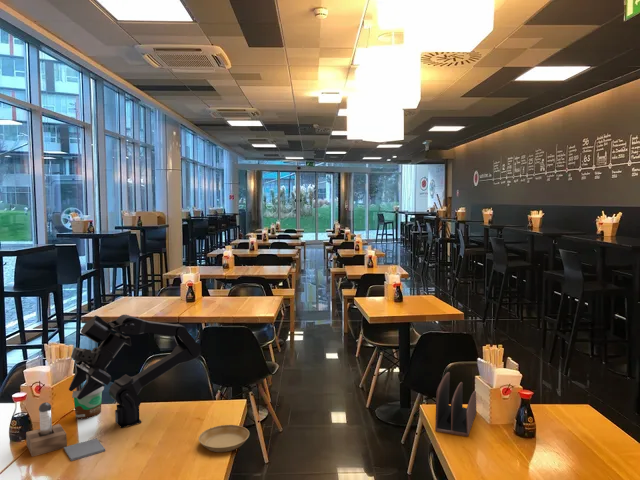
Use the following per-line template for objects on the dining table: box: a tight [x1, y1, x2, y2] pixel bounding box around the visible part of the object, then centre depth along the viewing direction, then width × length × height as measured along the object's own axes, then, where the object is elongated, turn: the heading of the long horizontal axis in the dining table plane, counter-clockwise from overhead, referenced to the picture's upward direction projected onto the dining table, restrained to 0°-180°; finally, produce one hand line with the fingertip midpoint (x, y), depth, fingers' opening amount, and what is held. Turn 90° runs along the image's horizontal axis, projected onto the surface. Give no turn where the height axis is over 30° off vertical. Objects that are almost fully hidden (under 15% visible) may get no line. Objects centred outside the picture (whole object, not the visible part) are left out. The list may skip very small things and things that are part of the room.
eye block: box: [25, 423, 68, 458], centre depth 146 cm, size 9×9×4 cm
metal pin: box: [38, 401, 53, 437], centre depth 146 cm, size 3×3×13 cm
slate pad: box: [63, 438, 106, 462], centre depth 143 cm, size 9×9×1 cm
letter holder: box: [434, 371, 478, 438], centre depth 159 cm, size 10×20×14 cm, turn 155°
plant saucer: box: [198, 424, 250, 453], centre depth 146 cm, size 15×15×3 cm
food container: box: [71, 386, 105, 420], centre depth 169 cm, size 12×6×10 cm, turn 168°
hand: (73, 394), depth 150 cm, fingers open, 9 cm apart
